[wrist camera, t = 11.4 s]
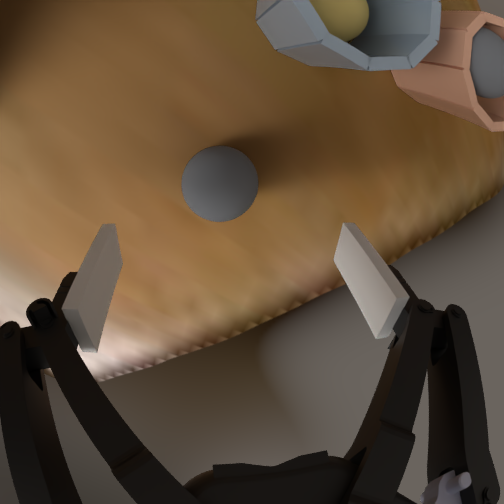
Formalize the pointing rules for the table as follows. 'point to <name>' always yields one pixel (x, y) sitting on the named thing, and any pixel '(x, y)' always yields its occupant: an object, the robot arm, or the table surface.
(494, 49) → the charcoal ball
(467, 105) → the terracotta tube
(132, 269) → the table surface
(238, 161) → the charcoal ball
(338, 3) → the ochre ball
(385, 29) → the slate tube
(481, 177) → the table surface
